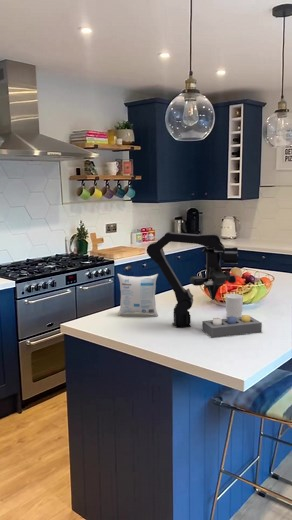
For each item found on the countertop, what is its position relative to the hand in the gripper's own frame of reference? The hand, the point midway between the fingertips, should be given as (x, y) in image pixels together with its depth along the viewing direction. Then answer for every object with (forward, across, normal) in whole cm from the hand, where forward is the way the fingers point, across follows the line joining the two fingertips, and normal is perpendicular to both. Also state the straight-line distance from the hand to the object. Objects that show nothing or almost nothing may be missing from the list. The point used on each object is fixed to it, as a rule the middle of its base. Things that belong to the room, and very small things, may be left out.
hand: (212, 299), depth 193 cm
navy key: (+10, +5, -8) cm, 14 cm away
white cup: (+12, +15, +10) cm, 22 cm away
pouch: (+12, -26, +27) cm, 39 cm away
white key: (+10, -1, -8) cm, 13 cm away
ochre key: (+10, +12, -8) cm, 17 cm away
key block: (+12, +5, -8) cm, 15 cm away
